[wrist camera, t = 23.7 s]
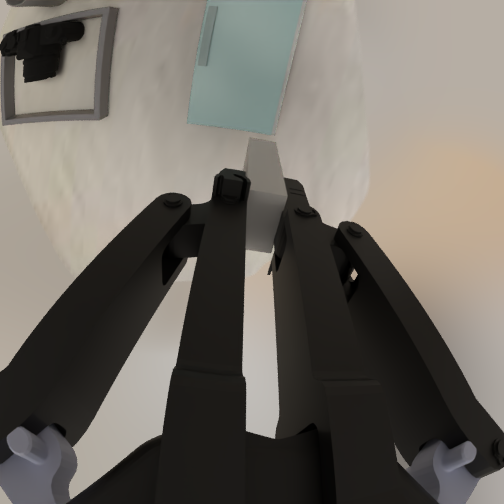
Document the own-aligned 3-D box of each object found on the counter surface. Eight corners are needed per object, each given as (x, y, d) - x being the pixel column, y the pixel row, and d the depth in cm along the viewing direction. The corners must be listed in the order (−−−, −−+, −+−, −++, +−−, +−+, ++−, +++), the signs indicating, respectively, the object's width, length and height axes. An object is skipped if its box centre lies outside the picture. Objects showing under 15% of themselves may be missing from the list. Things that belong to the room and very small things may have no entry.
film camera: (20, 80, 30) (-14, 92, 23) (24, 31, 24) (-10, 36, 17) (82, 73, 32) (50, 82, 25) (90, 18, 26) (58, 16, 19)
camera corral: (13, 33, 23) (3, 34, 21) (118, 8, 26) (109, 6, 24) (12, 120, 34) (2, 125, 32) (107, 115, 37) (99, 120, 35)
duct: (222, -33, 23) (218, -43, 19) (306, -19, 24) (313, -28, 21) (194, 114, 38) (187, 122, 34) (272, 126, 39) (274, 135, 35)
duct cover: (219, -43, 19) (218, -47, 18) (308, -28, 20) (311, -31, 19) (187, 121, 34) (186, 124, 33) (270, 133, 35) (271, 136, 34)
